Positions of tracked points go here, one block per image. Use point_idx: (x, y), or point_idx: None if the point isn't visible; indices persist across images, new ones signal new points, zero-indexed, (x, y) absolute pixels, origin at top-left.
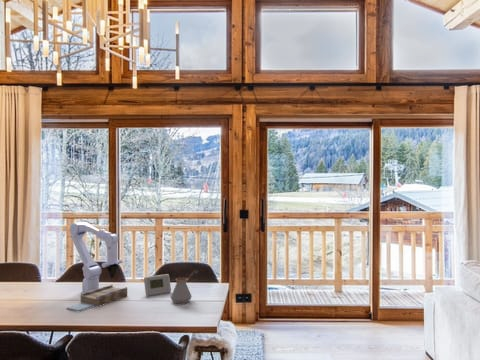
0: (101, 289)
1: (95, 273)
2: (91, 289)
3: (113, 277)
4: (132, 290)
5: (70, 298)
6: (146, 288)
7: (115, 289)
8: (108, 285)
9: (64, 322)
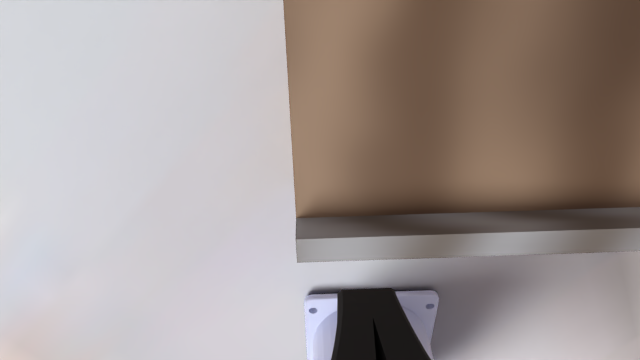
0: (513, 219)
1: None
2: (425, 345)
3: (373, 289)
4: (24, 59)
5: (582, 337)
6: None
7: (387, 79)
8: (355, 257)
9: None
